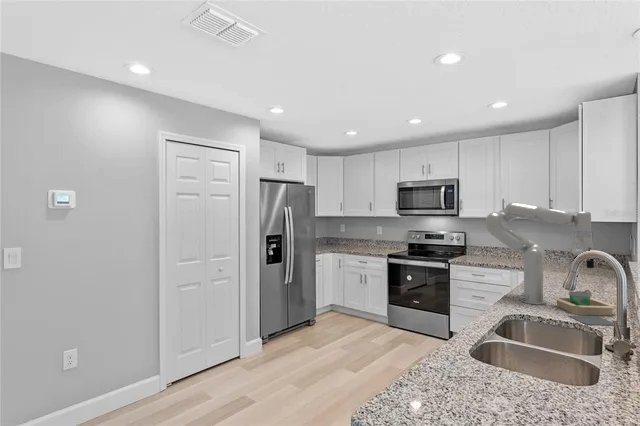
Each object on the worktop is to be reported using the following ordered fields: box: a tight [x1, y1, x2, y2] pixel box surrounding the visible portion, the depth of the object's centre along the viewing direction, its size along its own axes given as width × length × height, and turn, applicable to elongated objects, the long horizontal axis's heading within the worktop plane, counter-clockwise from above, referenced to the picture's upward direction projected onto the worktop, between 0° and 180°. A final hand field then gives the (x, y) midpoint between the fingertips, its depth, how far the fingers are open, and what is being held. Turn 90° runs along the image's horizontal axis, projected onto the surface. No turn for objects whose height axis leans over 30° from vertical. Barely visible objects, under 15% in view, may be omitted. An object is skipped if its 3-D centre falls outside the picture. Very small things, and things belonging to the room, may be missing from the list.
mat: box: [567, 315, 614, 327], centre depth 168 cm, size 14×14×1 cm
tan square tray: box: [552, 296, 617, 316], centre depth 186 cm, size 22×22×4 cm
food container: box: [568, 289, 593, 306], centre depth 186 cm, size 12×6×10 cm, turn 105°
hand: (583, 266), depth 188 cm, fingers open, 9 cm apart
